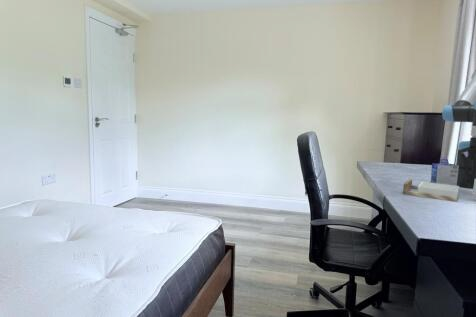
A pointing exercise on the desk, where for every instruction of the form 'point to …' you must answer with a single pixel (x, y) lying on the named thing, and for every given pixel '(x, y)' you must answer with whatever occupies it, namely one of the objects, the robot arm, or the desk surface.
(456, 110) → the robot arm
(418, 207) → the desk surface
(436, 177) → the ink cartridge box
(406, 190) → the backstop
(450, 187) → the caddy
